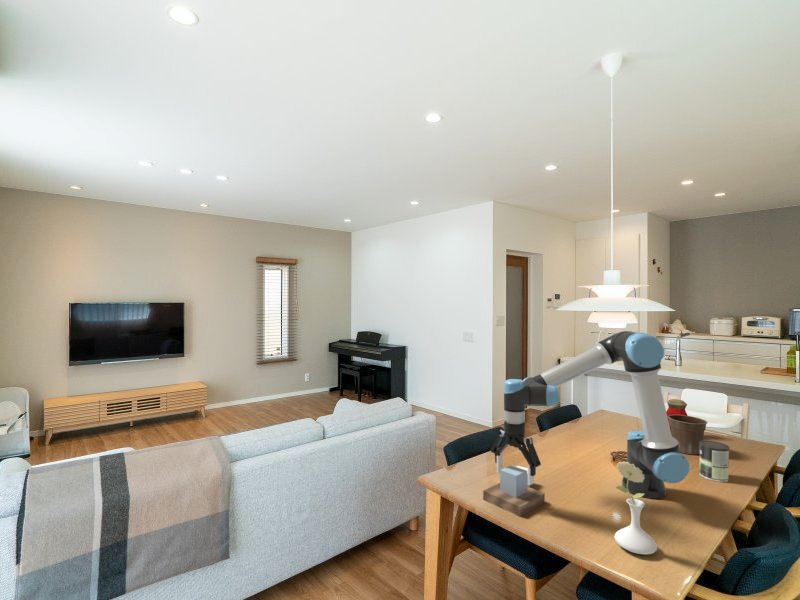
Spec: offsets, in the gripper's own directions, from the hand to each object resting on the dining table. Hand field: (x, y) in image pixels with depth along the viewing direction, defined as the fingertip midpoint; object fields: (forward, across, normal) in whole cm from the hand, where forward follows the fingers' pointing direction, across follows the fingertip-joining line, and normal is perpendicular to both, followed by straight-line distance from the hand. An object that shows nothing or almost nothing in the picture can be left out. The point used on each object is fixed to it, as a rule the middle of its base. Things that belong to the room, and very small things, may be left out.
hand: (514, 477), depth 155 cm
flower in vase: (+9, -40, -4) cm, 41 cm away
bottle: (+10, -15, -136) cm, 137 cm away
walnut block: (+9, 0, 0) cm, 9 cm away
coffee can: (+10, -43, -85) cm, 95 cm away
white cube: (+9, +6, -15) cm, 18 cm away
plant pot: (+10, -26, -113) cm, 116 cm away
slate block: (+5, 0, 0) cm, 5 cm away
